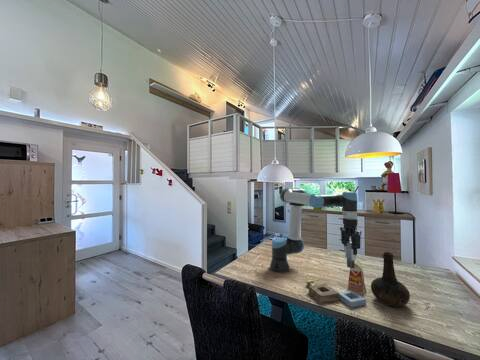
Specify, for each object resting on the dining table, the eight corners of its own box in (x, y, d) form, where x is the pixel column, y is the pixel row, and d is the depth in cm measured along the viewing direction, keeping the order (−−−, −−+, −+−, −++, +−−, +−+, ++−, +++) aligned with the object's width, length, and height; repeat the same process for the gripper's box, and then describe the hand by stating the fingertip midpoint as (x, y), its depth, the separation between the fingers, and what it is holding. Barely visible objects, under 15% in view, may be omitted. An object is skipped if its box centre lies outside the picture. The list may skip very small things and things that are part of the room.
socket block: (308, 292, 127) (308, 286, 127) (325, 289, 130) (325, 283, 130) (321, 303, 115) (321, 296, 116) (339, 299, 119) (338, 292, 119)
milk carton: (350, 285, 136) (349, 255, 137) (366, 289, 130) (365, 258, 131) (347, 290, 129) (346, 258, 130) (364, 295, 123) (363, 262, 124)
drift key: (306, 285, 136) (306, 280, 136) (312, 284, 137) (312, 279, 137) (314, 291, 127) (314, 287, 127) (320, 290, 129) (320, 286, 129)
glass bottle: (410, 301, 117) (409, 252, 118) (409, 316, 104) (408, 261, 104) (374, 290, 129) (373, 246, 129) (368, 303, 115) (367, 253, 116)
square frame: (337, 297, 121) (337, 292, 121) (351, 295, 124) (351, 290, 124) (351, 307, 111) (351, 302, 111) (365, 304, 114) (365, 299, 114)
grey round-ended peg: (345, 265, 119) (344, 241, 120) (350, 265, 120) (350, 241, 121) (350, 268, 115) (350, 243, 116) (356, 267, 117) (356, 243, 117)
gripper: (334, 216, 126) (334, 254, 125) (356, 221, 109) (357, 264, 109) (344, 215, 128) (344, 253, 127) (367, 220, 111) (368, 263, 111)
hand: (350, 258), depth 118 cm, fingers closed on grey round-ended peg, 4 cm apart
